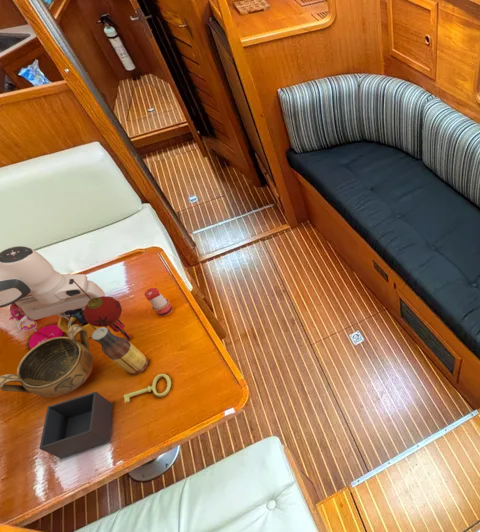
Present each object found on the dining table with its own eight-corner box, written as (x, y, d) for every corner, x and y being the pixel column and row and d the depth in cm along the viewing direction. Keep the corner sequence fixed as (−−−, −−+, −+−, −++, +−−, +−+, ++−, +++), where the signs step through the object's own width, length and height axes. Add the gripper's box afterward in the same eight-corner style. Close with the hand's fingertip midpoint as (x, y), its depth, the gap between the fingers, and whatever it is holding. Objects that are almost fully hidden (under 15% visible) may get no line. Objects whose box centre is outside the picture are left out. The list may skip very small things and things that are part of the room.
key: (124, 398, 115) (120, 395, 113) (166, 372, 121) (163, 369, 119) (133, 416, 112) (129, 414, 110) (176, 388, 117) (173, 385, 116)
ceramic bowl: (94, 337, 129) (65, 311, 117) (123, 364, 122) (96, 339, 111) (20, 391, 116) (-21, 367, 105) (48, 424, 110) (8, 403, 99)
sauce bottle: (148, 354, 125) (114, 318, 110) (149, 370, 121) (115, 336, 106) (125, 362, 123) (88, 328, 108) (126, 379, 119) (87, 345, 104)
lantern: (144, 321, 133) (92, 262, 110) (145, 344, 127) (91, 286, 105) (113, 332, 130) (53, 273, 108) (113, 355, 124) (50, 298, 102)
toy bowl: (64, 345, 127) (54, 337, 123) (70, 314, 134) (61, 306, 131) (106, 333, 130) (98, 325, 126) (110, 304, 137) (102, 295, 134)
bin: (61, 458, 104) (39, 448, 98) (67, 418, 111) (47, 406, 105) (109, 442, 107) (91, 431, 101) (112, 403, 114) (95, 391, 108)
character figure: (93, 311, 135) (72, 290, 126) (103, 314, 135) (82, 293, 126) (71, 333, 130) (47, 312, 121) (81, 336, 129) (58, 316, 120)
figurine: (38, 356, 124) (3, 330, 113) (23, 341, 127) (-13, 315, 116) (69, 333, 130) (38, 307, 118) (54, 320, 133) (22, 293, 122)
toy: (171, 301, 138) (151, 274, 127) (178, 316, 134) (158, 288, 123) (155, 309, 136) (133, 282, 125) (162, 324, 132) (140, 297, 121)
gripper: (8, 307, 114) (41, 333, 124) (88, 287, 119) (113, 313, 129) (13, 291, 117) (44, 317, 128) (90, 272, 122) (114, 299, 133)
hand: (79, 315), depth 128 cm, fingers closed on character figure, 3 cm apart
